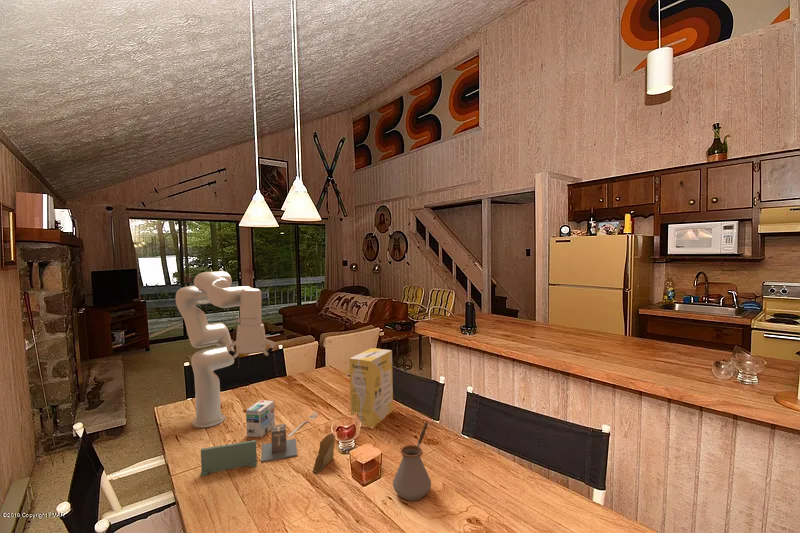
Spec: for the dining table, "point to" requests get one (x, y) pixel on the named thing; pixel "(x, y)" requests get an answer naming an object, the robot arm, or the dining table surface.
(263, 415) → the light bulb box
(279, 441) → the lettered block
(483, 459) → the dining table surface
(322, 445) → the rock
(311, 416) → the fork
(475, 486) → the dining table surface
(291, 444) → the mat
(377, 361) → the pasta box
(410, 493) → the coffee pot
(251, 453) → the green panel with feet
